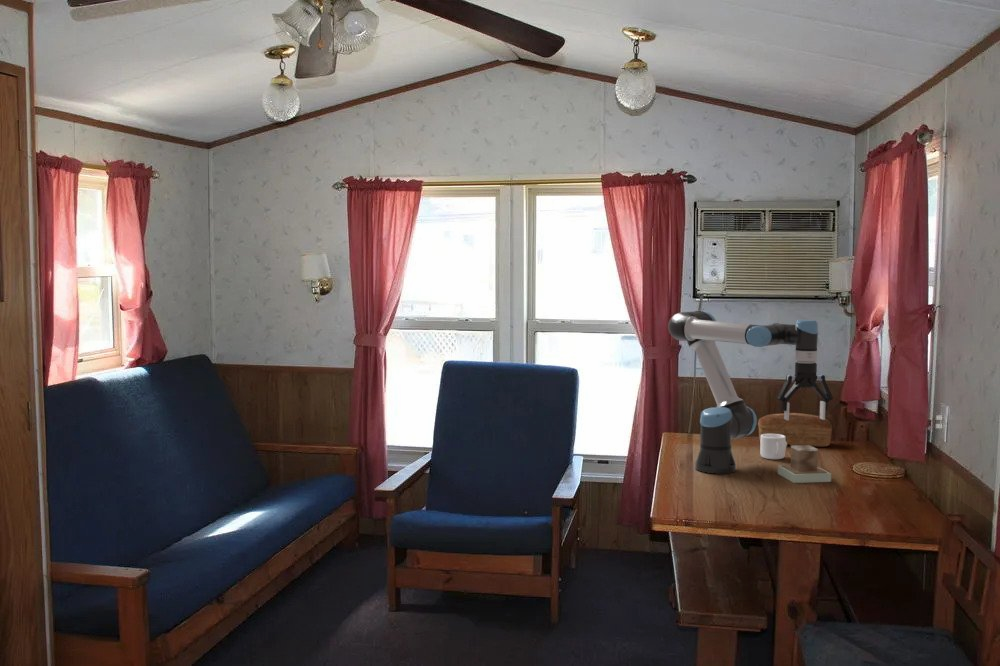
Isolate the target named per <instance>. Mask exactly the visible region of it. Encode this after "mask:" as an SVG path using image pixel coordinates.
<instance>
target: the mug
mask: <svg viewBox="0 0 1000 666" xmlns="http://www.w3.org/2000/svg"><path fill="white" fill-rule="evenodd" d="M785 439H786V438H785V436H784V435H780V434H762V435H761V441H760V440H759V441H760V444H759V445H760V451H759V452H760V457H762V458H763V459H765V460H766V459H767V460H772V461H773V460H783V459H784V458H785V457H786V452H787V451H786V450H787V446H788V444H787V442H786V441H785Z"/></svg>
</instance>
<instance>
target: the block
mask: <svg viewBox="0 0 1000 666" xmlns="http://www.w3.org/2000/svg"><path fill="white" fill-rule="evenodd" d="M818 453H819V449H818V448H816V447H815V446H810V445H790V465H791V467H792V468H794V469H796V470H797V471H817V467H818V459H819V458H818V457H819V455H818Z"/></svg>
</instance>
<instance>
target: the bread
mask: <svg viewBox="0 0 1000 666" xmlns="http://www.w3.org/2000/svg"><path fill="white" fill-rule="evenodd" d="M757 426H758V439H759V441H761V435H762V434H780V435H784V436H785V438H786V439H785V441H786V442H787V446H788V445H789V446H797V445H810V446H812V447H828V446H830V444H831V439H832V433H833V432H832V431H833V425H832V424H831V422H830V420H829V419H828V418H826V417H825V420H822V419H820V415H815V414H811V413H810V414H807V413H800V412H789V420H785V419H784V413H771V414H767V415H764V416H762V417H760V418H759V419H757Z"/></svg>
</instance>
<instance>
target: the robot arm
mask: <svg viewBox="0 0 1000 666" xmlns="http://www.w3.org/2000/svg"><path fill="white" fill-rule="evenodd" d="M818 324H819V323H818V321H817V320H815V319H797V320H796V322H795V324H789V323H778V322H777V323H768V324H767V325H764V324H763V325H761V324H750V323H749V324H748V323H738V322H726V321H718V320H716V318H715V316H714V315H712V314H711V313H710V312H708V311H705V310H704V311H703V310H694V311H682V312H681V311H680V312H678V313H677V312H676V313H675V314H673V316H672V317H670V319H669V321H668V325H667V329H668V332H669V334H670V336H671V337H672V338H673V339H675V340H677V341H681V342H687V345H688V348H690V349H691V350H694V351H695V354H696V356H697V359H698V361H699V363H700V366H701V369H702V370H703V373H704V376H705V378H706V381H707V383H708V386H709V388H710V390H711V393H712V395H713V398H714V400H715V403H716V407H709V408H705V409H704V410H702V411H701V412H700V419H699V425H700V426H699V427H700V428H699V430H700V432H699V433H700V434H699V436H700V437H699V439H700V441H699V442H700V443H699V446H700V447H699V451H698V454H697V456H696V460H695V466H694V468H696V469H697V470H696V469H695V470H696V471H698V470H699V472H701V471H702V473H705V472H707V474H714V473H716V474H719V475H720V474H724V475H725V474H733V473H734V472H736V471H737V468H736V467H737V466H736V465H737V464H736V460H735V459H734V458H735V457H734V455H733V451H732V440H735V439H740V438H745V437H747V436H750V435H751V434H752V433H753V432H754V431H755V429H756V426H758V419H757V415H756V413H755V410H753V409H752V408H750V407H749V406H746V405H747V404H746V403H745V400H744V399H742V398H740V397H739V396H738V393H737V392H736V389H735V387H734V384H733V382H732V379H731V378H730V375H729V373H728V370H727V368H726V364H725V362H724V361H723V358H722V355H721V353H720V351H719V349H718V346H717V343H716V342H723V343H733V344H740V345H750V346H752V347H754V348H762V347H767V346H777V345H790V346H791V345H792V346H795V350H794V351H795V357H794V359H795V363H794V375H789V374H786V377H785V381H784V383H783V385H782V387H781V389H780V391H779V393H778V395H777V397H776V399H777V400H778V401H780V402H781V410H782V411H783V412H784V419H785V420H789V413H790V402H789V400H790V399H791V398H792V397H793V396H794V394H795V393H796V392H797V391H798V390H799V389H800V388H804V389H805V388H812V389H813V390H814V392H815V393H816V394H817V395H818V397H819V398H820V399H821V400H820V401H819V416H820V419H822V420H825V418H826V411H827V410H828V406H829V405H828V403H829V402H830V401H833V399H834V396H833V395H832V393H831V390H830V388H829V386H828V384H827V382H826V375H823V374H819V375H817V371H818V367H817V366H818V364H817V363H816V362H817V361H818V335H819V327H818ZM793 381H794V383H793V384H792V382H793ZM816 381H819V383H820V386H821V388H822V390H823V391H822V390H821V388H820V387H819V385H818V384H817V383H816ZM791 384H792V387H791V388H790V386H791ZM823 392H824V393H823Z"/></svg>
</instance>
